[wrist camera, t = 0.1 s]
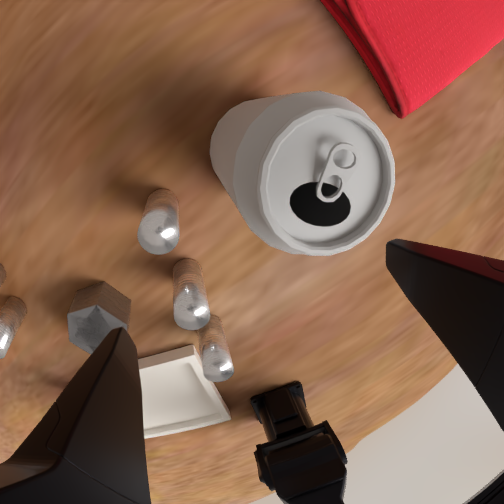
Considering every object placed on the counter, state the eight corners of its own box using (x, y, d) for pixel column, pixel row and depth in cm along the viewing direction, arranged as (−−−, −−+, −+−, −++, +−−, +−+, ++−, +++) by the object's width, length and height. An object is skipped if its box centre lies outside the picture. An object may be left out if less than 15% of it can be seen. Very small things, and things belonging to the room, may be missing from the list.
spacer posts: (235, 357, 30) (248, 402, 25) (76, 395, 28) (69, 436, 23) (172, 184, 21) (171, 209, 16) (-17, 264, 19) (-48, 299, 14)
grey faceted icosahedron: (142, 321, 26) (140, 347, 23) (91, 335, 25) (84, 361, 22) (119, 276, 24) (112, 299, 20) (65, 294, 23) (53, 318, 20)
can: (197, 184, 22) (217, 257, 11) (224, 86, 19) (276, 58, 9) (289, 205, 24) (371, 281, 14) (317, 117, 22) (428, 133, 11)
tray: (229, 410, 34) (231, 419, 33) (139, 430, 33) (139, 439, 32) (193, 344, 28) (194, 354, 27) (85, 371, 27) (83, 381, 26)
